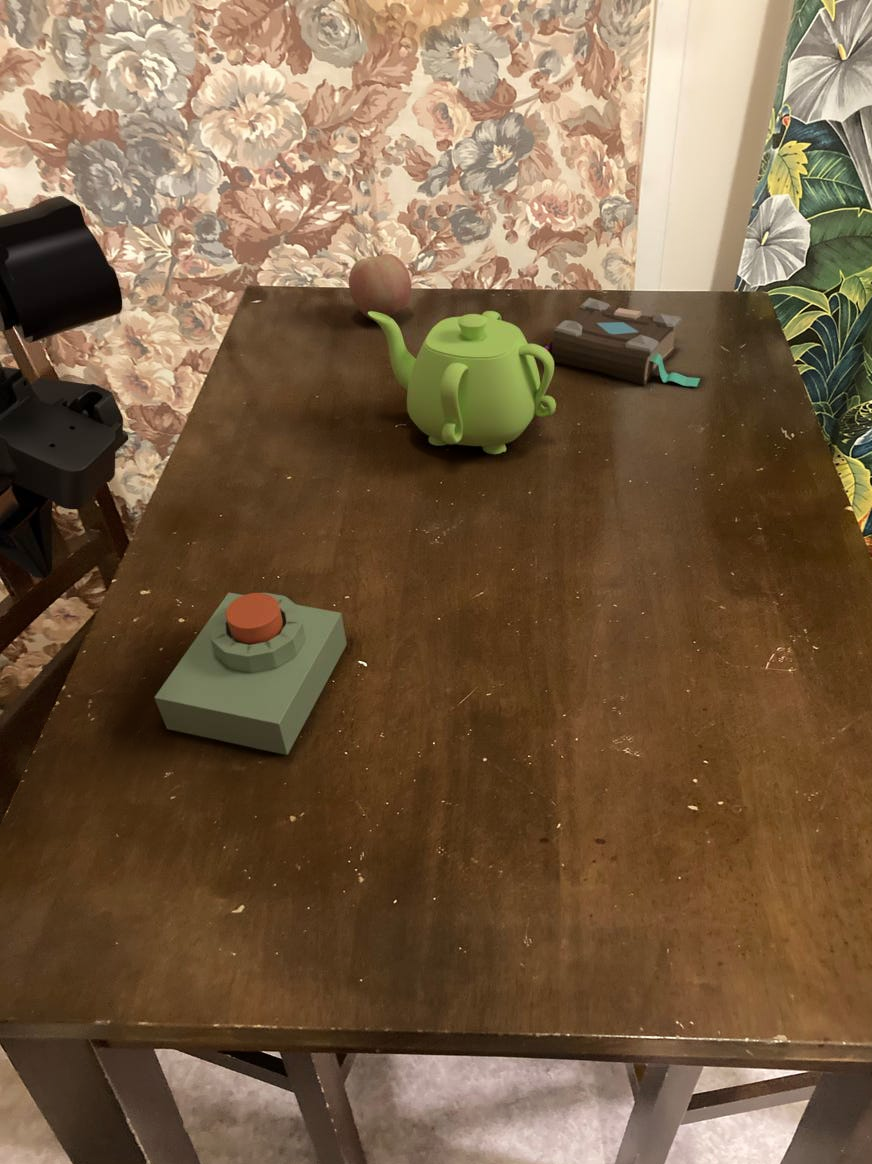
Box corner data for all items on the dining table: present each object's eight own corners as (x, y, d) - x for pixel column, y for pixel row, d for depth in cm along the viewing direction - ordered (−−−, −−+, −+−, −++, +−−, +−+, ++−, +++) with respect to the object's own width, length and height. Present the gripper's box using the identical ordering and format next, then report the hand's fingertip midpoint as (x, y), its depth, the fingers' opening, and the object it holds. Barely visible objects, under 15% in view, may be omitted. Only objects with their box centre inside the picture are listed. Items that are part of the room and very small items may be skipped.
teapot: (420, 483, 91) (412, 369, 82) (378, 415, 100) (366, 306, 91) (564, 448, 95) (570, 335, 86) (510, 385, 104) (511, 278, 95)
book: (723, 354, 109) (730, 314, 105) (688, 399, 101) (694, 358, 98) (575, 320, 116) (577, 282, 112) (532, 360, 109) (533, 320, 105)
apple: (411, 302, 121) (406, 242, 115) (416, 328, 115) (411, 265, 110) (351, 307, 120) (344, 246, 114) (354, 333, 114) (346, 270, 109)
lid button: (269, 649, 67) (265, 632, 66) (221, 640, 68) (216, 623, 66) (291, 613, 70) (287, 597, 68) (244, 605, 70) (240, 588, 69)
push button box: (287, 756, 66) (274, 707, 62) (166, 729, 68) (146, 680, 64) (347, 645, 74) (338, 595, 70) (237, 624, 76) (223, 575, 72)
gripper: (-46, 477, 43) (65, 693, 54) (154, 311, 56) (211, 514, 67) (-231, 446, 45) (-89, 660, 56) (2, 293, 58) (81, 492, 69)
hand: (43, 574), depth 62 cm, fingers closed
